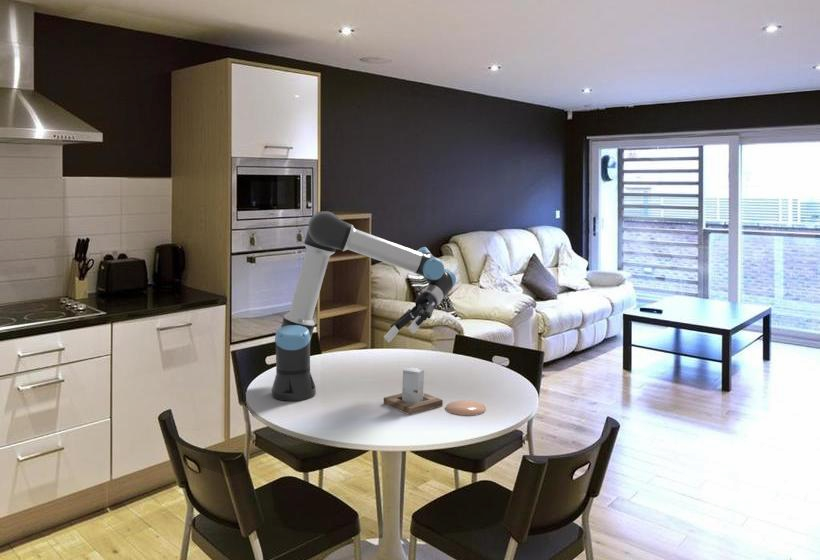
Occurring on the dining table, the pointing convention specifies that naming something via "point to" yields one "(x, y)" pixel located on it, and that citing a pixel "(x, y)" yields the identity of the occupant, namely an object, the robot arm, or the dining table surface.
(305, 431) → the dining table surface
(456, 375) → the dining table surface
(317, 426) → the dining table surface
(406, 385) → the skincare box
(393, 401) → the socket block
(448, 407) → the coaster
